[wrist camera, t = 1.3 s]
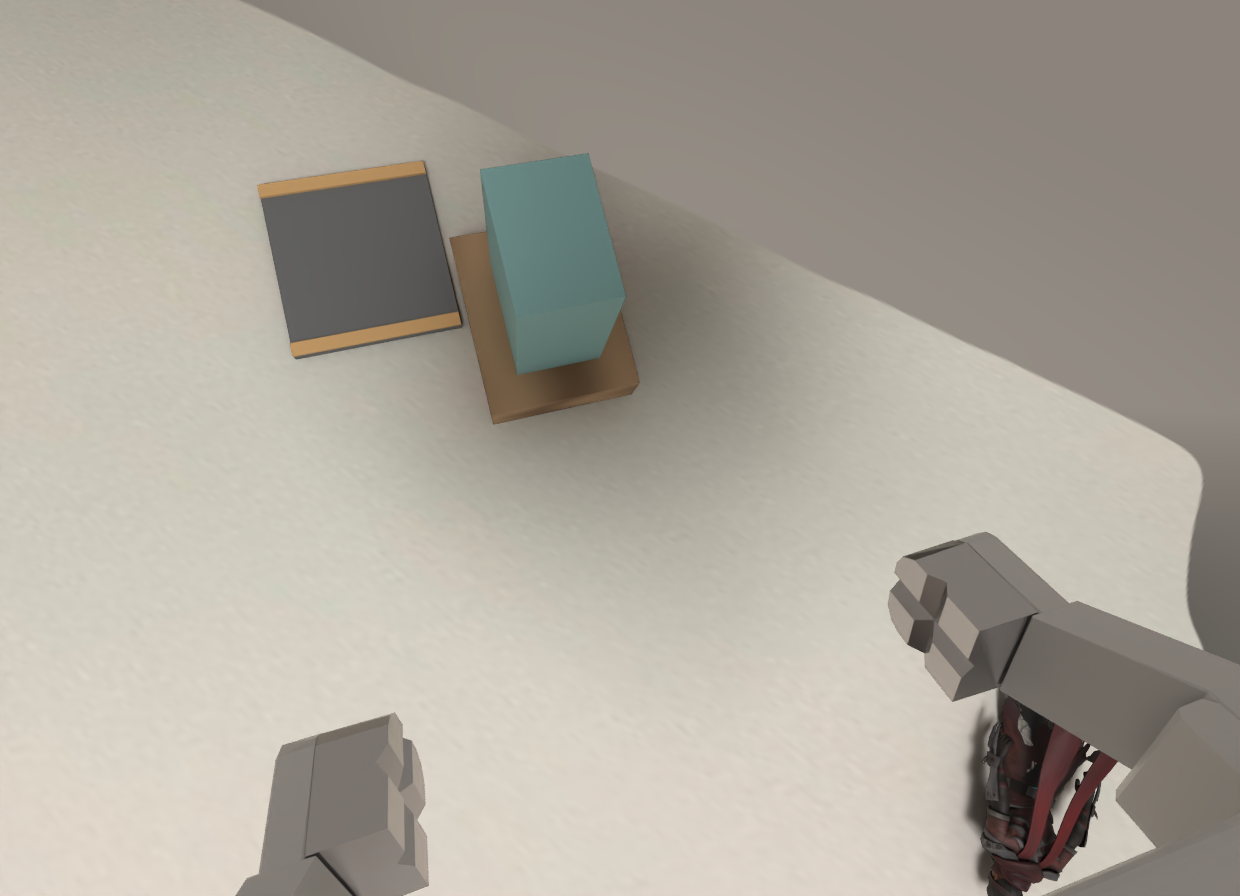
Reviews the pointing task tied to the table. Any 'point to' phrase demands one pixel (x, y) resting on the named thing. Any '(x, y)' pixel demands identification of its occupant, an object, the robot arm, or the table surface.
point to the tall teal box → (551, 261)
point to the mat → (358, 258)
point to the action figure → (1035, 799)
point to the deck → (495, 358)
